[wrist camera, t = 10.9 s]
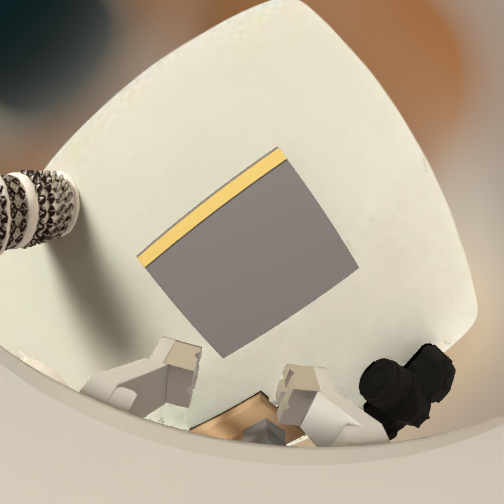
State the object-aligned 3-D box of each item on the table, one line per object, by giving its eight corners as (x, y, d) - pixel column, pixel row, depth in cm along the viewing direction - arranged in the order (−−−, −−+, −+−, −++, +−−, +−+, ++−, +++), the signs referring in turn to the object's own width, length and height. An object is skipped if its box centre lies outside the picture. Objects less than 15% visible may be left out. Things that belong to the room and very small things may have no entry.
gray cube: (262, 441, 32) (262, 462, 28) (243, 429, 31) (242, 451, 27) (284, 430, 31) (286, 451, 27) (266, 418, 30) (267, 440, 27)
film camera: (409, 318, 30) (446, 352, 21) (438, 348, 31) (470, 380, 23) (331, 397, 33) (347, 443, 24) (369, 416, 34) (387, 456, 25)
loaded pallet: (233, 455, 36) (230, 509, 25) (189, 427, 34) (175, 485, 23) (303, 422, 34) (314, 483, 23) (259, 389, 32) (262, 457, 21)
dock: (225, 344, 31) (222, 359, 27) (147, 249, 28) (135, 256, 25) (349, 260, 28) (359, 268, 25) (274, 151, 26) (277, 146, 23)
